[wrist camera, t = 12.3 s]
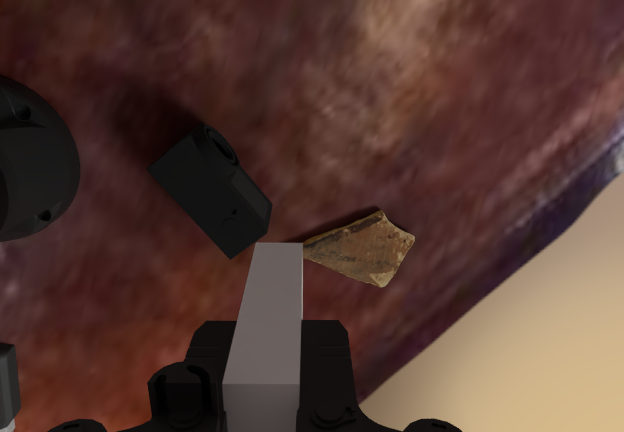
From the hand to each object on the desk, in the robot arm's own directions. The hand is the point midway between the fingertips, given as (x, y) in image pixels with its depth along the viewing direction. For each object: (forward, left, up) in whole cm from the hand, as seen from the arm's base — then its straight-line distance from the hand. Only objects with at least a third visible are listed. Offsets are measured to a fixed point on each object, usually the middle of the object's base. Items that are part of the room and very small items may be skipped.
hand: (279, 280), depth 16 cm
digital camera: (-7, -6, -31) cm, 32 cm away
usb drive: (-34, -31, -31) cm, 56 cm away
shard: (+6, -14, -31) cm, 35 cm away
